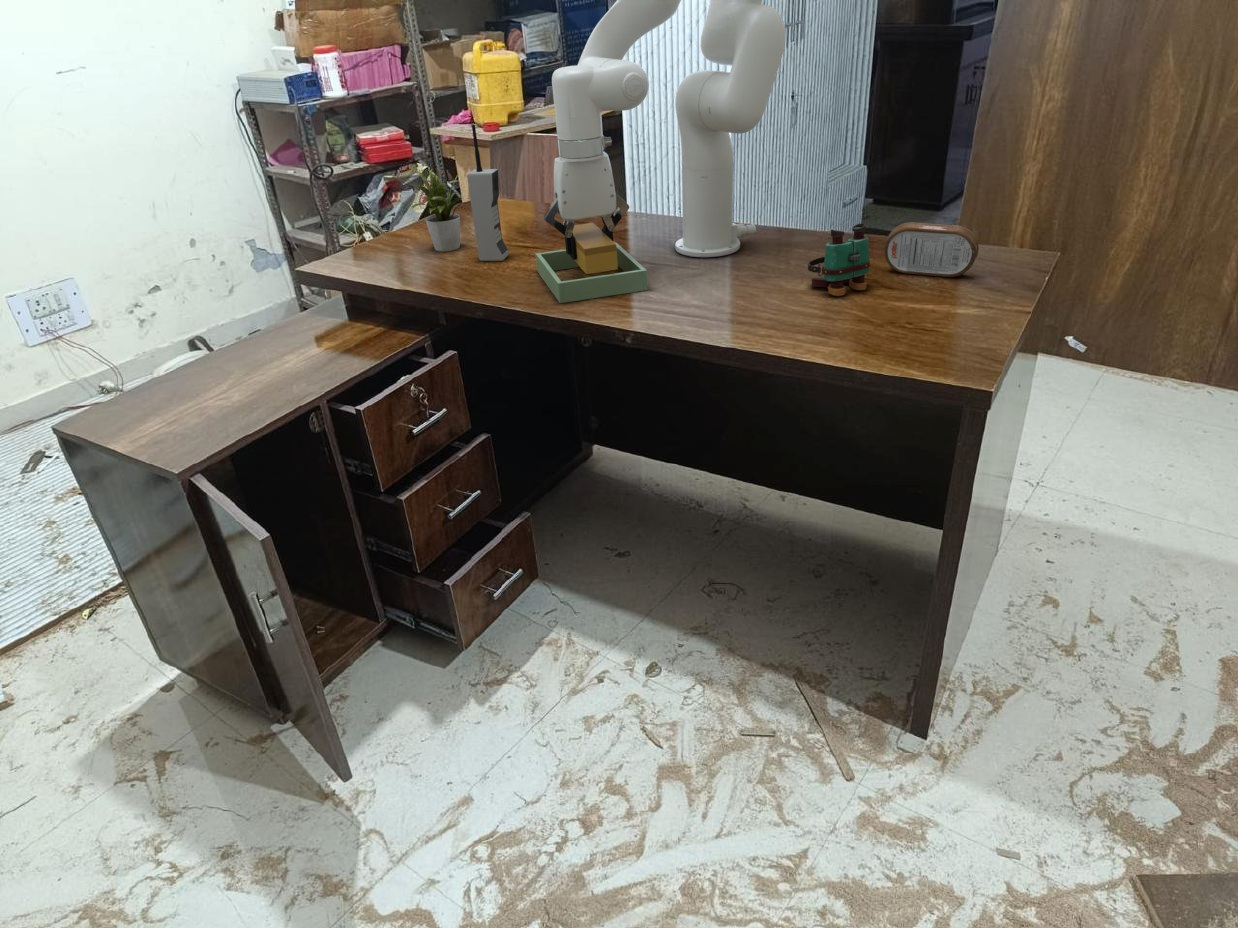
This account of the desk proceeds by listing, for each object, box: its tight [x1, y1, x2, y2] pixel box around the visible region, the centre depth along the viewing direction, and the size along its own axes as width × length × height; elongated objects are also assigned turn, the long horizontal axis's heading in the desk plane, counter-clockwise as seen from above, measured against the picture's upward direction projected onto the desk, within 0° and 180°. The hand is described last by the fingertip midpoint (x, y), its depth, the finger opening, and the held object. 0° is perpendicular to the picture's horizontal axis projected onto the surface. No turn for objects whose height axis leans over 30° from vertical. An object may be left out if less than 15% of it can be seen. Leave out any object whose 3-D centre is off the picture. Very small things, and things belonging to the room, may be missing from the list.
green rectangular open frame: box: [535, 241, 649, 304], centre depth 150 cm, size 16×19×4 cm
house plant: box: [402, 166, 470, 252], centre depth 170 cm, size 14×14×16 cm
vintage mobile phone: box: [466, 123, 509, 262], centre depth 159 cm, size 4×5×25 cm
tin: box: [883, 221, 980, 278], centre depth 142 cm, size 15×3×8 cm, turn 65°
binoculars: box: [807, 222, 871, 297], centre depth 138 cm, size 9×11×10 cm
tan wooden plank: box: [563, 222, 619, 275], centre depth 148 cm, size 6×15×4 cm, turn 17°
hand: (590, 254), depth 148 cm, fingers closed on tan wooden plank, 5 cm apart
